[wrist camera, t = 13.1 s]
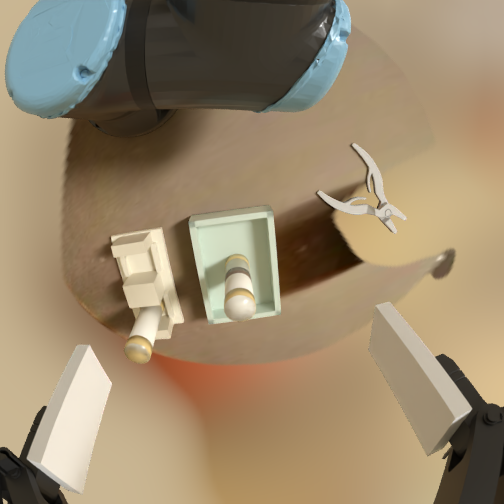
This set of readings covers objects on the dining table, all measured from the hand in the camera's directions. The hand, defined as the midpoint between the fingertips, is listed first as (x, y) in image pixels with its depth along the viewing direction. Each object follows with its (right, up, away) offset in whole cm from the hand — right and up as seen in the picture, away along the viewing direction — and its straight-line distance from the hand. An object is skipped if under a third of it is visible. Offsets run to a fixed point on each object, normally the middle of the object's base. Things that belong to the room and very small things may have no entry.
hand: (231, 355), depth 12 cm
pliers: (+19, +13, +30) cm, 38 cm away
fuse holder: (-15, 0, +31) cm, 34 cm away
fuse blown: (-1, +3, +31) cm, 31 cm away
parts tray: (-1, +3, +31) cm, 31 cm away
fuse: (-15, -4, +32) cm, 35 cm away
